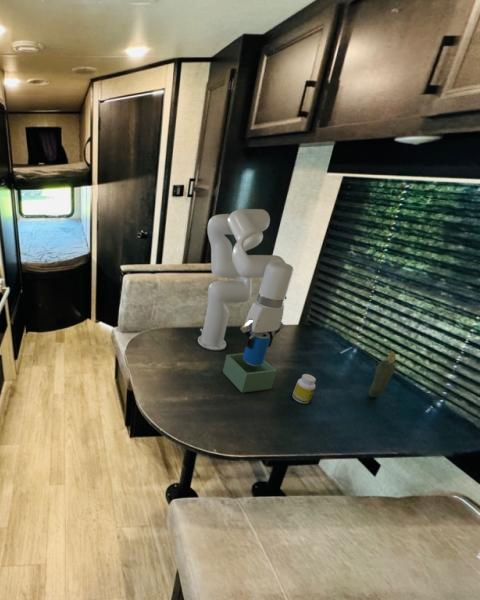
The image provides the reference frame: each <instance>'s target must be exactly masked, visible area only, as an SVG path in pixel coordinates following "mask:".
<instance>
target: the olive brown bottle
mask: <svg viewBox="0 0 480 600" xmlns="http://www.w3.org/2000/svg"><path fill="white" fill-rule="evenodd" d="M396 358H397V357H396V354H395V352H394V351H393V350H392V349H390V350H389V351H388V355H387V357H386V359H383V360H381V361H380V362H379V363H378V364H377V366H376V369H375V372H374V378H373V381H372V383H371V385H370V387H369V389H368V395H369V396H370V397H371V398H376V397H377V398H379V397H380V396H381V395H382V394H383V393H384V391H386V388H387V385H388V383H389V381H390V379H392V376H393V375H394V373H395V371H396V364H395V363H394V362H395V361H396Z"/></svg>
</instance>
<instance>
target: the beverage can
mask: <svg viewBox="0 0 480 600" xmlns="http://www.w3.org/2000/svg"><path fill="white" fill-rule="evenodd" d="M250 334H252V331H251V332H250ZM253 339H254V342H253V345H252V348H251V349H249V348H248V347H246V346H245V348H244V352H243V353H244V355H243V359H244V361H245V362H246V363H248V364H249V365H252V366H259V365H262V364H263V361H264V360H265V358H266V355H267V352H268V348H269V347H268V345H269V342H270V334H269V333H268V332H258V333H256V335H255V336H254V337H253Z"/></svg>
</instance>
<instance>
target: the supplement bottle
mask: <svg viewBox="0 0 480 600" xmlns="http://www.w3.org/2000/svg"><path fill="white" fill-rule="evenodd" d="M316 380H317V379H316V377H314V376H313V375H311V374H308V373H304V374H302V376H301V378H299V379H297V382H296V385H295V387H294V389H293V392H292V394H291V395H292V398H293V399H294V400H295V401H296V402H298V403H300V404H308V403H310V401H311V399H312V397H313V395H314V392H315V390H316V384H315V383H316Z"/></svg>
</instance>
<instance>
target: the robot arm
mask: <svg viewBox="0 0 480 600" xmlns="http://www.w3.org/2000/svg"><path fill="white" fill-rule="evenodd" d="M270 222H271V216H270V214H269V212H268V211H266V210H265V209H262V208H241V209H236V210H233V211H232V212H231V213H222V214H221V213H220V214H216V215H213V216H211V218H210V219H209V220H208V223H207V236H208V237H207V238H208V240H209V243H210V263H211V264H210V266H211V267H210V269H211V274H212V276H213V277H215V278H218V279H219V278H220V279H235V280H216V281H213V282H211V283H210V284H209V285H208V288H207V305H206V306H207V307H206V312H205V317H204V322H203V327H202V328H200V329H199V332H201V335H199V336H198V338H197V343H198V344H199V345H200V346H201V347H203V348H204V349H207V350H210V351H222V350H224V349H226V348H227V342H226V341H225V336H226V331H227V327H228V323H229V322H228V321H229V318H230V309H229V307H228V306H227V304H229V303H230V304H231V303H247V302H248V301H250V299H251V297H252V290H253V289H252V287H253V285H252V279H253V278H254V279H255V278H257V279H258V278H259V279H260V278H262V279H261V283H260V287H259V291H258V295H257V297H256V298H257V299H256V301H253V303H252V305H251V307H250V309H249V311H248V314H247V316H246V319H245V323H244V324H243V325H242V326H241V327H240V328H239V330H240V331H241V332H242V333H243V334H244V336H245V340H244V342H243V345H244V346H245V348H246V347H248V348H249V349H251V348H252V345H253V342H254V339H253V337H254V336H255V335H256V333H258V332H268V333H269V334H270V342H269V345H268V348H270V347H271V346H272V343H273V340H274V338H275V337H276V336H277V334H278V333H279V332H280V331H281V330H282V329H283V328H284V327H285V324H284V323H283V322H282V321H283V316H284V310H285V305H284V304H285V301H286V300H287V294H288V291H289V287H290V285H291V281H292V278H293V275H294V271H295V269H294V267H293V266H292V265H291V264H289V263H287V262H286V261H285V260H284V258H283V257H281V256H279V255H275V254H247V251H249V250H252V249H254V248H256V247H257V246H259V244H261V243H262V241H263V239H264V234H263V232H264V231H266V230H267V229H268V228H269V226H270ZM227 235H232V236H233V237H234V238H235V241H236V242H235V244H234V245H233V244H232V242H231V241H230V239H229V238H228V237H227ZM250 332H252V334H250Z"/></svg>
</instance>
